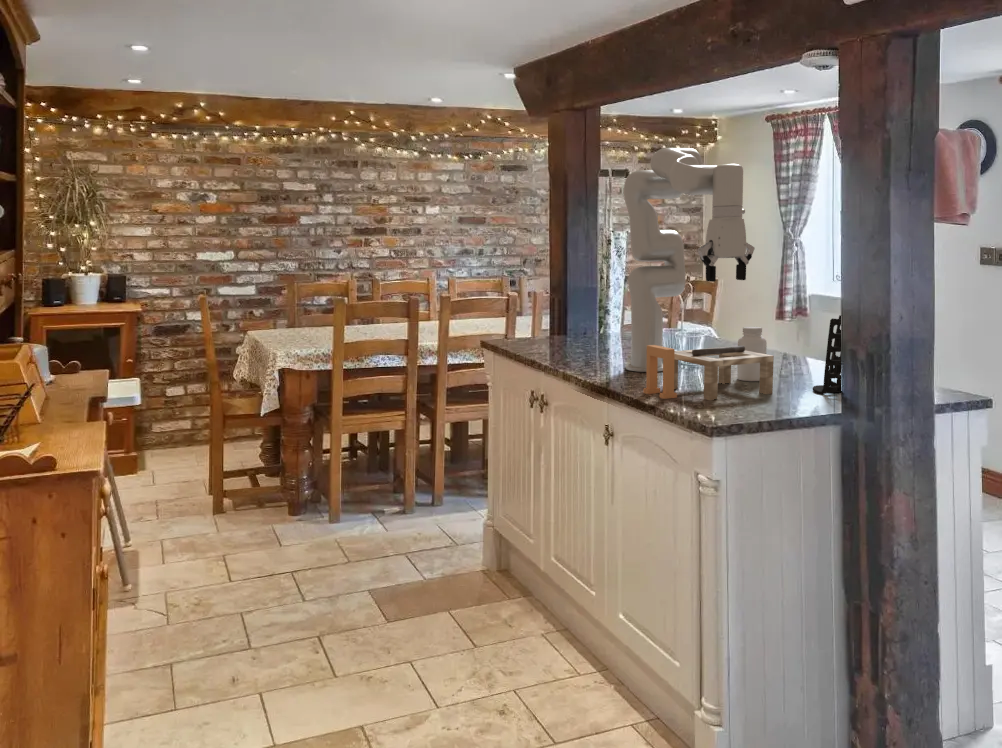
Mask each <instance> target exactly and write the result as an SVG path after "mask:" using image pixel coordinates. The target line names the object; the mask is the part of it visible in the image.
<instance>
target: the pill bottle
mask: <svg viewBox="0 0 1002 748" xmlns="http://www.w3.org/2000/svg"><path fill="white" fill-rule="evenodd" d="M742 335H743V336H741V337H739V338H738V340H737V346H744V347H745V351H751V352H756V353H762V354H767V340H766V338H765V337H764V336H762V335H763V327H761V326H744V327H742ZM736 366H737V368H736V371H737V372H736V373H737V374H736V376H737V379H738V380H739V381H743V382H760V363H751V364H740V365H736Z"/></svg>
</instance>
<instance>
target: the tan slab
mask: <svg viewBox="0 0 1002 748" xmlns="http://www.w3.org/2000/svg"><path fill="white" fill-rule="evenodd" d="M675 351H676V350H675V348H671V347H667V346H666V347H665V346H663V345H662V346H657V345H647V372H645V373H646V376H645V377H646V381H645V382H646V384H645V385H646V387H644V388H643V394H646V395H650V394H659V399H663V400H664V399H665V400H666V399H667V400H668V399H677V398H678V392H675V389H674V356H675ZM658 358H662V364H663V371H662V392H661V388H660V387H658V373H659V372H658Z"/></svg>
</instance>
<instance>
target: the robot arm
mask: <svg viewBox="0 0 1002 748" xmlns="http://www.w3.org/2000/svg"><path fill="white" fill-rule="evenodd" d="M650 167H651V169H642V170H635V171H633V172H631V173H629V174H628V175H627V177H626V178H625V180H624V185H623V198H624V202H625V205H626V209H627V212H628V213H627V214H628V215H629V216H628V218H629V232H630V248H631V253H632V257H633V259H634V260H635V261H638V262H649V263H650V262H651V263H652V262H663V263H664V265H644V266H643V265H641V266H638V267H635V268H634V269H632V270H631V271H630V273H629V274H628V277H627V280H628V281H627V284H628V290H629V296H630V307H631V308H630V318H631V320H630V321H631V325H630V327H631V328H630V330H631V331H630V333H631V337H630V341H631V343H630V348H631V349H630V354H629V355H627V359H628V360H629V361H630V362H629V363H627V364H625V369H626V371H630V372H638V373H646V372H647V345H657V346H662V347H663V329H664V328H663V326H664V325H663V323H664V319H663V317H664V316H663V315H664V313H663V309H662V307H661V306H660V305H661V304H659V303H658V301H657V298H667V297H668V298H669V297H679V296H680V295H681V294H682V293H683V292H684V290H685V288H686V265H685V264H686V263H685V262H686V261H685V259H686V258H685V245H684V242H683V241H684V240H683V237H682V236H681V234H680V233H679V232H677V230H672V229H660V228H659V217H658V213H657V211H656V209H655V207H654V206H653V204H652V203H651V202H650V201H649V200H674V199H678V198H680V197H681V196H682V195H684V194H685V195H691V196H695V195H696V196H697V195H698V196H700V195H701V196H703V195H704V196H706V195H709V196H711V195H712V213H711V215H712V219H709V220H708V224H707V228H706V237H705V244H704V245H702V246H700V247H699V248H697V252H698V255H699V257H700V260H701V261H702V263H703V266H705V282H711V283H714V282H716V279H717V278H716V277H717V276H716V275H717V274H716V273H717V267H716V265H715V264H716V262H717V261H718V259H735V260H736V262H737V264H736V265H735V280H737V281H747V278H746V276H747V265H748V264H750V263H749V262H750V260H751V259H752V258H753V254H754V252H755V246H753V245H751V244H750V243H749V242H747V232H746V231H747V229H746V224H745V219H744V218H743V215H744V214H745V213H746V209H745V208H744V207H743V204H744V203H743V201H744V200H743V198H744V197H743V195H744V168H743V166H742V165H741V164H737V163H725V164H724V163H722V164H718V165H713V164H712V165H706V164H705V165H704V164H703V159H702V156H701V154H700V152H698V151H697V150H696V149H694V148H690V147H689V148H688V147H666V148H660V149H658V150H657V151H655V152H654V153H653V155H652V156H651V157H650ZM659 372H663V358H658V372H657V373H659Z"/></svg>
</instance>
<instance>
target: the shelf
mask: <svg viewBox="0 0 1002 748" xmlns="http://www.w3.org/2000/svg"><path fill="white" fill-rule="evenodd" d="M711 356H712V357H711ZM713 356H718V358H716V357H715V358H714V357H713ZM679 361H681V362H685V363H689V364H694V365H698V366H704V367H703V368H704V372H703V373H704V374H703V379H704V380H703V383H704V384H703V399H704V400H707V401H713V400H714V399H717V400H718V387H719V385H718V383H719V384H721V383H722V384H721V385H726V384H725V383H729V384H731V382H732V381H731V380H732V366H737V365H740V364H751V363H760V381H759V388H758V389H759V391H758V393H759V394H762V393H763V395H770V394H773V392H774V391H773V389H774V388H773V387H774V355H771V354H767V353H766V354H762V353H756V352H751V351H745V347H744V346H738V345H736V346H723V347H710V348H709V347H708V348H697V349H686V350H675V356H674V390H677V389H679ZM714 401H715V400H714Z"/></svg>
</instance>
